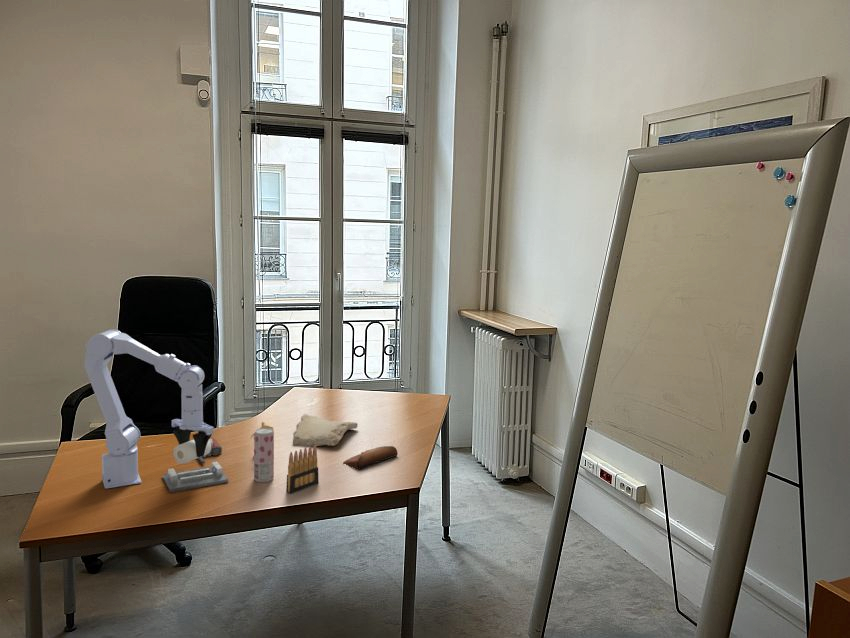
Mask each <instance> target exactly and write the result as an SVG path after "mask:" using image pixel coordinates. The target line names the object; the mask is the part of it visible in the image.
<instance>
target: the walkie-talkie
mask: <svg viewBox="0 0 850 638" xmlns="http://www.w3.org/2000/svg"><path fill="white" fill-rule="evenodd" d="M209 441H210V443H211V451H210V453H209V454H207V455H204V456H202V457H199V458H197V459H198V460H199V462H201V464H206V461H205V460H204V458H206V456H207V457H212V456H211V455H213V456H218V454H220V455H222V453H223V448H222V446H221V444H219V443H218V441H217V440H216V439H215V437H212V436H211V437H210V439H209Z"/></svg>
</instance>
